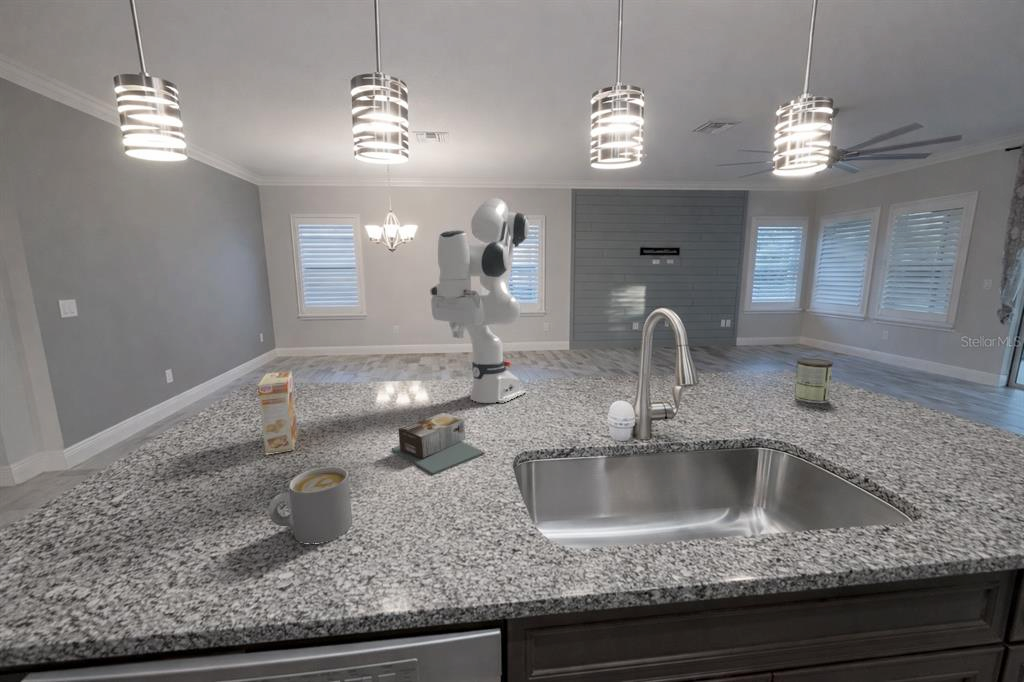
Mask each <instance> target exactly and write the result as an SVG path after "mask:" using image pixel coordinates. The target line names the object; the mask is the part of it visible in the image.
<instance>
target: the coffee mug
mask: <svg viewBox="0 0 1024 682" xmlns="http://www.w3.org/2000/svg"><path fill="white" fill-rule="evenodd" d="M288 489H289V491H286V492H282V493H280V494H278V495H275V496H274V497H273V498H272V499H271V501H270V503H269V507H268V508H269V509H268V511H269V512H268V513H269V518H270V520H271V522H273V524H275V525H276V526H279V527H280V526H281V527H288V528H291V529H292V530H293V533H294V534H293V536H294V539H295V541H296V540H297V541H299V542H302V543H309V544H313V543H314V544H315V543H321V542H326V541H330V540H333V539H335V538H337V537H339V536H341V535H342V534H344V533H345V532H346V531H347V530H348V529H349V528H350V527H352V526H353V517H352V515H353V514H352V512H353V511H352V504H351V503H352V502H351V493H350V492H351V491H350V480H349V472H348V470H346V469H345V468H343V467H339V466H323V467H317V468H312V469H310V470H307V471H304V472H302V473H300V474H298V475H297V476H294V477H293V479H291V480H290V482H289V485H288ZM281 504H287V505H288V507H289V510H290V512H289V514H288V515H286V516H282V515H280V513H279V512H278V508H279V506H280V505H281ZM351 525H352V526H351ZM350 529H351V528H350ZM350 529H349V530H350ZM349 530H348V531H349ZM348 531H347V532H348ZM347 532H346V533H347ZM346 533H345V534H346ZM345 534H344V535H345ZM342 536H343V535H342ZM342 536H341V537H342ZM339 538H340V537H339ZM337 539H338V538H337ZM335 540H336V539H335ZM297 541H296V542H297ZM333 541H334V540H333ZM299 542H298V543H299ZM330 542H331V541H330Z"/></svg>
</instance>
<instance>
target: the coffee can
mask: <svg viewBox="0 0 1024 682" xmlns="http://www.w3.org/2000/svg"><path fill="white" fill-rule="evenodd" d="M796 363H797V367H796V379H795V387H794V397H793V398H794V399H796V400H798V401H801V402H806V403H810V404H811V403H813V404H827V403H828V402H829V401H830V400H829V399H830V391H831V390H830V389H831V380H832V369H833V365H834V362H833V361H830V360H827V359H820V358H809V357H807V358H806V357H805V358H798V359H797V360H796Z"/></svg>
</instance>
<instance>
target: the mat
mask: <svg viewBox="0 0 1024 682" xmlns="http://www.w3.org/2000/svg"><path fill="white" fill-rule="evenodd" d="M391 451H392V452H393V453H395V454H396V455H399V456H400V457H402V458H403V459H405V460H407V461H409V462H411V463H412V464H413V465H416V466H417V467H419V468H420V469H421V470H424V471H426V472H427V473H429V474H430V475H431V476H434V475H437V474H439V473H441V472H444V471H446V470H449V469H451V468H454V467H457V466H459V465H461V464H464V463H466V462H469V461H472V460H473V459H475V458H478V457H481V456H483V455H485V451H484V450H481V449H479V448H476V447H474V446H473V445H470V444H468V443H466V442H464V441H460V442H458V443H456V444H454V445H452V446H450V447H448V448H445V449H443V450H441V451H439V452H437V453H435V454H432V455H430V456H428V457H426V458H424V459H419V458H417V457H414V456H412V455H409V454H407V453H404V452H402V451H400V445H398V446H395V447H391Z"/></svg>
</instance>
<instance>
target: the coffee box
mask: <svg viewBox="0 0 1024 682" xmlns="http://www.w3.org/2000/svg"><path fill="white" fill-rule="evenodd" d="M465 426H466V425H465V418H463V417H459V416H456V415H453V414H450V413H449V414H448V413H445V412H440V413H438V414H435V415H433V416H430V417H427V418H424V419H422V420H419V421H417V422H414V423H411V424H408V425H405V426H404V427H401V428H398V440H399V446H400V451H402V452H404V453H407V454H409V455H412V456H414V457H417V458H419V459H424V458H426V457H428V456H430V455H432V454H435V453H437V452H439V451H441V450H443V449H445V448H448V447H450V446H452V445H454V444H456V443H458V442H460V441H462V442H464V440H466V427H465Z"/></svg>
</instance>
